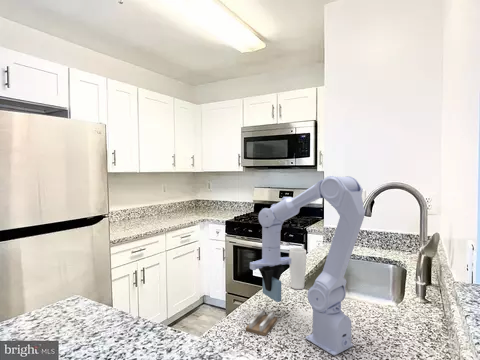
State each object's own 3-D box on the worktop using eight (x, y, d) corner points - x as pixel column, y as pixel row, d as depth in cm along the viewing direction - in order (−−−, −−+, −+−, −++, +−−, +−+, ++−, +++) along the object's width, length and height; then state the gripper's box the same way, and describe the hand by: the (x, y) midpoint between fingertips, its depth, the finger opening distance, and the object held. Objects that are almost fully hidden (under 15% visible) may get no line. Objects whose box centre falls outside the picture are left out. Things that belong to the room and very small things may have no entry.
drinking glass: (286, 288, 115) (286, 250, 115) (291, 283, 121) (292, 247, 121) (303, 291, 111) (303, 252, 111) (308, 286, 117) (308, 249, 117)
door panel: (281, 301, 88) (281, 281, 88) (277, 302, 87) (277, 282, 87) (266, 292, 95) (266, 273, 95) (262, 293, 94) (262, 274, 94)
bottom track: (259, 316, 91) (259, 308, 91) (277, 320, 88) (277, 312, 88) (245, 331, 82) (245, 321, 82) (265, 336, 79) (265, 326, 79)
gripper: (282, 241, 99) (282, 281, 98) (244, 246, 92) (244, 289, 92) (295, 245, 92) (295, 288, 92) (256, 250, 85) (256, 297, 85)
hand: (271, 289), depth 92 cm, fingers closed on door panel, 2 cm apart
